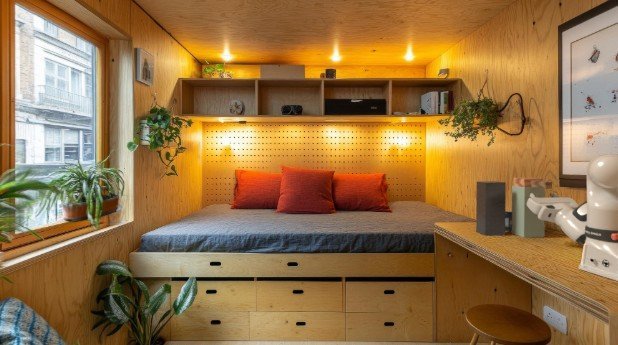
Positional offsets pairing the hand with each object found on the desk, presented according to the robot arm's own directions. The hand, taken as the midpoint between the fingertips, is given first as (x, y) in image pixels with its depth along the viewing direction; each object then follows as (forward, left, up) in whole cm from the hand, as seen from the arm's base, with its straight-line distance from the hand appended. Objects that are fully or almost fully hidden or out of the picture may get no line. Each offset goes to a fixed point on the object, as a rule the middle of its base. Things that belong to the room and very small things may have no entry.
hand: (541, 194), depth 162 cm
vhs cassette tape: (+24, +4, -21) cm, 32 cm away
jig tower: (+16, +15, -21) cm, 30 cm away
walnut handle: (+5, -1, +3) cm, 6 cm away
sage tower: (+10, -1, -21) cm, 23 cm away
